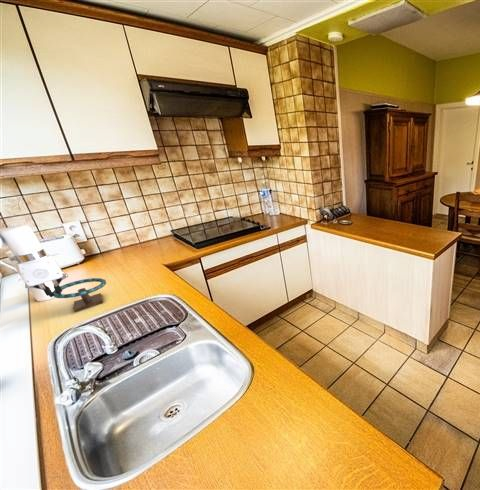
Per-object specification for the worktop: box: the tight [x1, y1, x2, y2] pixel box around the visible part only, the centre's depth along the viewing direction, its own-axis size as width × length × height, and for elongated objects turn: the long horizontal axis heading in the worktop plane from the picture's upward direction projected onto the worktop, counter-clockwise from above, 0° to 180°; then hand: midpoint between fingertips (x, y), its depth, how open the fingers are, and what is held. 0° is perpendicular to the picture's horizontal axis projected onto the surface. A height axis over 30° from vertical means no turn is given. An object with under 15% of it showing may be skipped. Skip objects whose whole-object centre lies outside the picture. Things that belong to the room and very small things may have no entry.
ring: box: [52, 277, 107, 299], centre depth 117 cm, size 17×17×2 cm
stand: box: [73, 287, 104, 313], centre depth 119 cm, size 9×9×8 cm
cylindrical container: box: [5, 249, 55, 302], centre depth 123 cm, size 7×7×25 cm
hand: (55, 294), depth 112 cm, fingers closed on ring, 1 cm apart
